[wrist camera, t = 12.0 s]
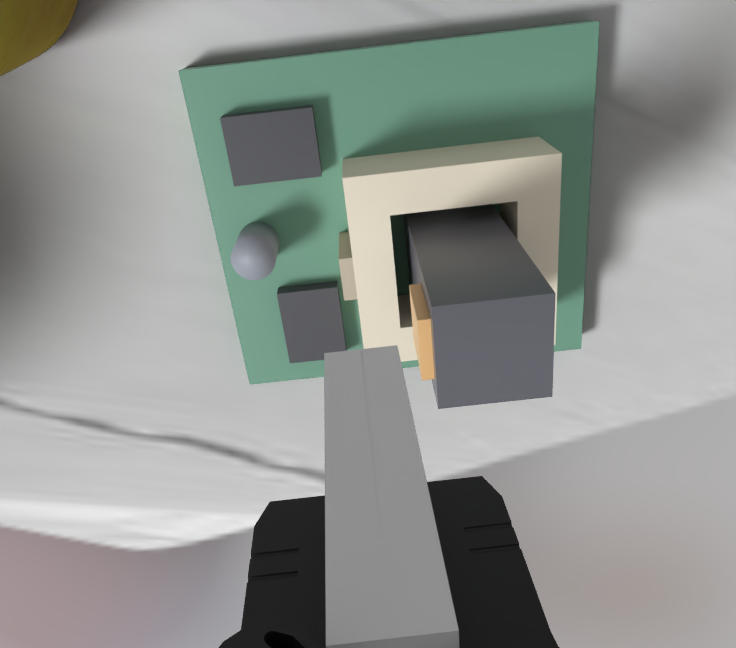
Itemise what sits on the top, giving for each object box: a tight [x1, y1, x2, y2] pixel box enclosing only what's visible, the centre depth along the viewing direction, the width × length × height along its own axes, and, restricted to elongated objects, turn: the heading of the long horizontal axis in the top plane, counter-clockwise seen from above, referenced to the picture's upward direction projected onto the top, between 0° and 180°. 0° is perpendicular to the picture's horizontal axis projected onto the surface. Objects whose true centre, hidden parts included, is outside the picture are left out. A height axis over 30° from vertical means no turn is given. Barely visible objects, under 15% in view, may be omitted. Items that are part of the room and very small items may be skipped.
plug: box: [404, 204, 556, 409], centre depth 26 cm, size 4×4×11 cm
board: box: [179, 20, 599, 384], centre depth 30 cm, size 18×16×5 cm
